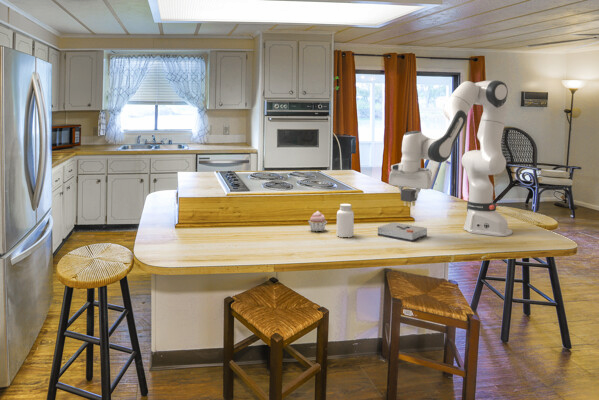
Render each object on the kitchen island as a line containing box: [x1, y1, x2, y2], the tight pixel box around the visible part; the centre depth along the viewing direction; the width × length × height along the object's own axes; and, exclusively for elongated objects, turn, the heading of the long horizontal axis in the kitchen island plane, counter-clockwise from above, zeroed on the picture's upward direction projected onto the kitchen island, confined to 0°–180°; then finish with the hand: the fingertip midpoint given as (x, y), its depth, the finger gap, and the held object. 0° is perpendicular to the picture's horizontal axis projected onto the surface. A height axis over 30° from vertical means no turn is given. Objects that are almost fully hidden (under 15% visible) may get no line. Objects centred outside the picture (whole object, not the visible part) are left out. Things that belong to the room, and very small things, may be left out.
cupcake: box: [307, 210, 328, 232], centre depth 237 cm, size 9×9×10 cm
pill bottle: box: [336, 203, 355, 238], centre depth 227 cm, size 8×8×15 cm
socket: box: [377, 222, 428, 243], centre depth 228 cm, size 18×14×5 cm
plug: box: [400, 188, 418, 208], centre depth 223 cm, size 5×6×8 cm
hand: (408, 197), depth 223 cm, fingers closed on plug, 5 cm apart
